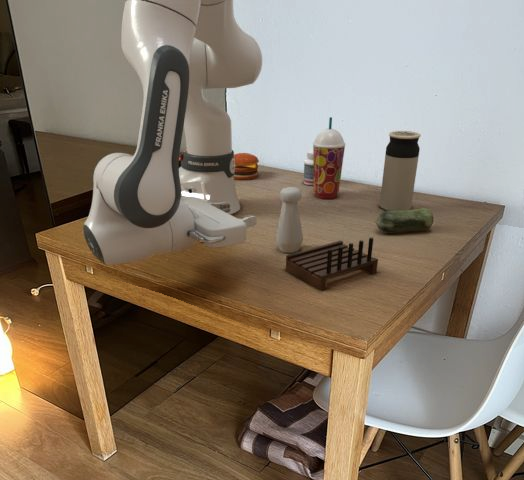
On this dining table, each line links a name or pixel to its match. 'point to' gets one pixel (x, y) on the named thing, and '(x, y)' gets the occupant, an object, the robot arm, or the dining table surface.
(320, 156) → the smoothie
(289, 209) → the salt shaker
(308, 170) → the pill bottle
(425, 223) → the vegetable
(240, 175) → the hamburger
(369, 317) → the dining table surface
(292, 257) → the drying rack
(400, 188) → the travel mug
